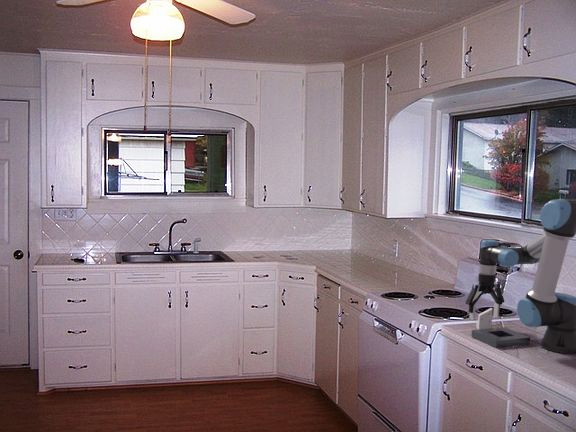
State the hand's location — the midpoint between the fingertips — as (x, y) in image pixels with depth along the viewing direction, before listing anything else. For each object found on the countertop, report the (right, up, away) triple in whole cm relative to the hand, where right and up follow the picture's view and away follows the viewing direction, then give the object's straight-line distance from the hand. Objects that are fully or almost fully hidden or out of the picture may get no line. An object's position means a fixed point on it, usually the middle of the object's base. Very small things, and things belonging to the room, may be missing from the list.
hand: (483, 318), depth 284 cm
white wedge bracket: (0, -5, 0) cm, 5 cm away
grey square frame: (+2, -7, -17) cm, 19 cm away
